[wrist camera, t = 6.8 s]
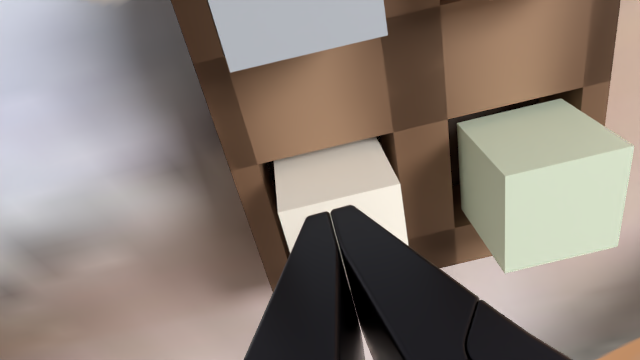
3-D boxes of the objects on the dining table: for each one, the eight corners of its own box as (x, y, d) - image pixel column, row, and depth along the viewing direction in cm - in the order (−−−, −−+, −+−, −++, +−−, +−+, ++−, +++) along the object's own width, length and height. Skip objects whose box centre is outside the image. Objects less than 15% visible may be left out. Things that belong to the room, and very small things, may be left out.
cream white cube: (373, 131, 19) (400, 183, 15) (386, 213, 21) (412, 275, 17) (273, 155, 19) (277, 212, 15) (296, 234, 21) (304, 300, 17)
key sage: (561, 98, 18) (634, 145, 14) (554, 186, 20) (617, 246, 16) (456, 123, 18) (505, 176, 14) (461, 208, 20) (504, 273, 16)
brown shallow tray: (588, -306, 14) (664, -352, 11) (554, 195, 23) (591, 232, 21) (124, -196, 14) (94, -217, 11) (275, 261, 23) (278, 306, 21)
